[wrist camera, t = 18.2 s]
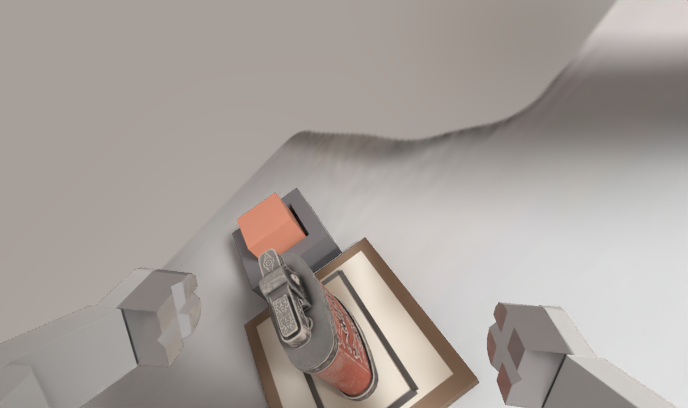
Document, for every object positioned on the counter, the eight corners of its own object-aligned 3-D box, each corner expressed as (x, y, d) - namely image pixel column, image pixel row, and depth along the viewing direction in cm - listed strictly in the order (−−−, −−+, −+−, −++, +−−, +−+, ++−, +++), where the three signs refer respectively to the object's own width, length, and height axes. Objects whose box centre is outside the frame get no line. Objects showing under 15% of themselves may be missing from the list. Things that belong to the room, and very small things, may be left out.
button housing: (309, 205, 38) (296, 187, 36) (341, 252, 32) (328, 234, 30) (249, 248, 38) (232, 233, 36) (270, 304, 32) (252, 289, 30)
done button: (291, 211, 35) (275, 192, 33) (306, 237, 32) (291, 219, 30) (254, 236, 35) (236, 219, 33) (267, 266, 32) (248, 249, 30)
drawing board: (368, 243, 32) (364, 236, 31) (479, 382, 22) (477, 377, 21) (250, 329, 31) (242, 324, 30) (309, 514, 21) (299, 514, 20)
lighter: (307, 313, 29) (233, 250, 22) (342, 290, 29) (280, 220, 22) (346, 412, 23) (262, 370, 16) (389, 384, 23) (325, 329, 16)
